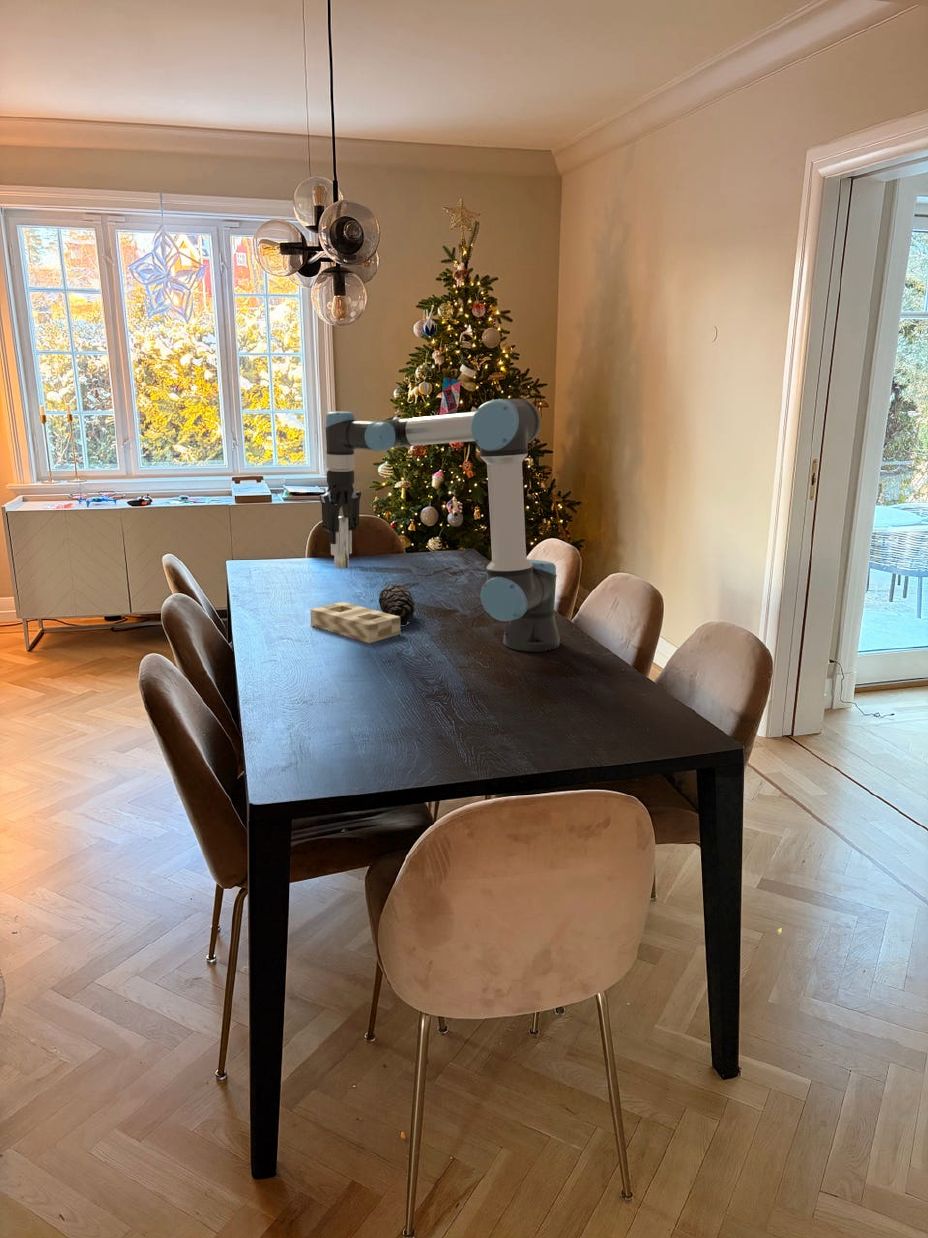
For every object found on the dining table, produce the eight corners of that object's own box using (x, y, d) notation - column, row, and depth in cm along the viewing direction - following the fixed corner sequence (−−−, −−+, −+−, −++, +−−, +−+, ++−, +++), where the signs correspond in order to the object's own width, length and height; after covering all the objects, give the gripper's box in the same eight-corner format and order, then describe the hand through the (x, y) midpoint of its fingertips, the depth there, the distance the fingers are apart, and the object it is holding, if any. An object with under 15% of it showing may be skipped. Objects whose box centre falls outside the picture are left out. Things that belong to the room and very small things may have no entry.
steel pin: (351, 566, 250) (351, 517, 246) (340, 568, 247) (340, 518, 244) (342, 564, 253) (341, 515, 249) (331, 566, 250) (330, 516, 246)
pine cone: (390, 629, 253) (390, 595, 250) (374, 613, 269) (374, 581, 266) (425, 626, 256) (425, 593, 254) (407, 611, 273) (407, 579, 270)
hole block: (400, 634, 249) (400, 616, 247) (368, 643, 240) (368, 625, 238) (342, 618, 264) (342, 601, 262) (310, 626, 255) (310, 609, 253)
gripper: (354, 466, 251) (354, 548, 258) (307, 470, 239) (308, 556, 245) (372, 468, 247) (372, 551, 253) (325, 473, 234) (327, 560, 241)
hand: (341, 553), depth 249 cm, fingers closed on steel pin, 4 cm apart
